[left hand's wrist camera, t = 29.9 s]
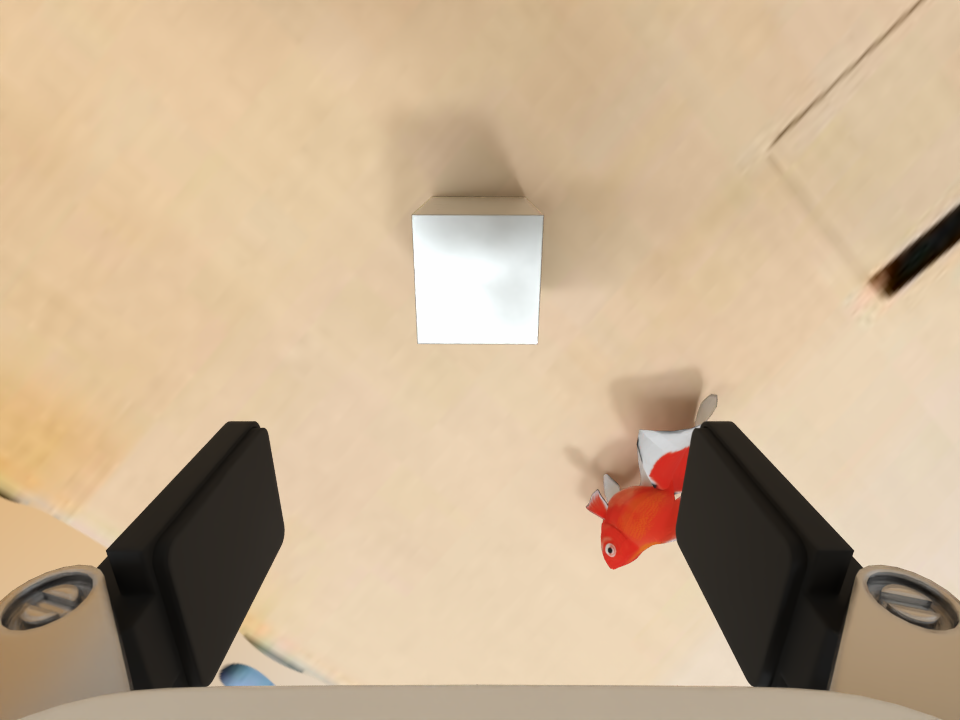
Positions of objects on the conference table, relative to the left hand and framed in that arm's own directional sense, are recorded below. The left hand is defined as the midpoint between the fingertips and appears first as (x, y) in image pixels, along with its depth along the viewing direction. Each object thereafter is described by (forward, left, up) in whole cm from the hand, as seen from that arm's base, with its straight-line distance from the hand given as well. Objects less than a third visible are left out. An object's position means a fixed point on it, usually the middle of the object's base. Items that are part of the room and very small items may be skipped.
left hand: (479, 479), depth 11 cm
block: (0, 0, -29) cm, 29 cm away
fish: (+20, -10, -29) cm, 37 cm away
